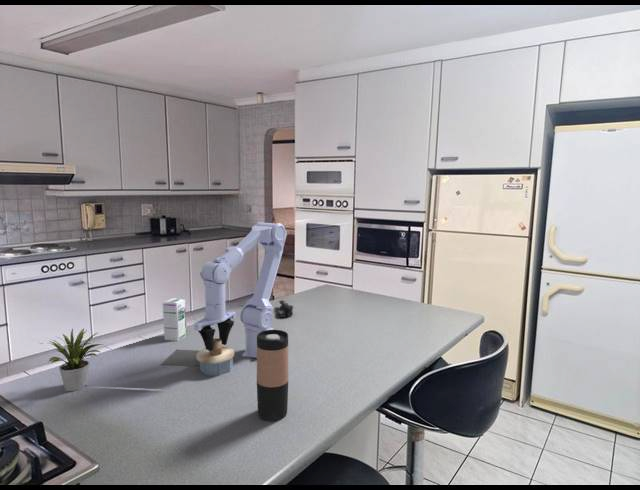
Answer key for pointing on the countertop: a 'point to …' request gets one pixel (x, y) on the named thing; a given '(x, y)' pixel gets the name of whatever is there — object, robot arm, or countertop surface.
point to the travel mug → (272, 374)
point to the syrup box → (174, 319)
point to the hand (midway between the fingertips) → (216, 346)
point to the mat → (182, 358)
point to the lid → (215, 353)
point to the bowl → (216, 368)
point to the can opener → (285, 309)
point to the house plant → (74, 361)
